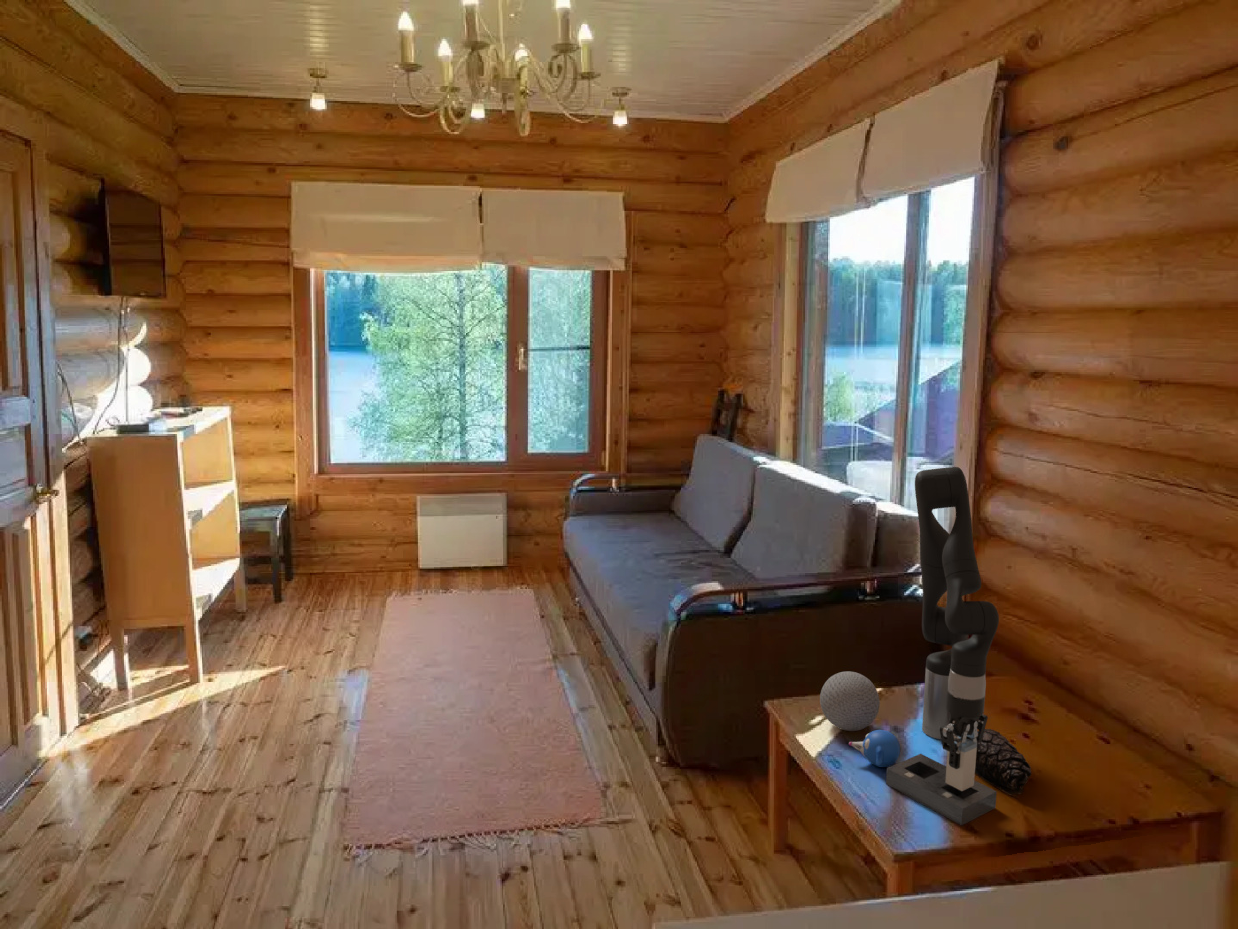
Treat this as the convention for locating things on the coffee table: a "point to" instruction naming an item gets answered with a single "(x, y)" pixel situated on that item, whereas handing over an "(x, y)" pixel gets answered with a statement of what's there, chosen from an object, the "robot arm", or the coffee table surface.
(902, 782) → the panel
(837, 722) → the decorative ball
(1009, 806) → the coffee table surface
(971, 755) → the plug
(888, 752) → the blue mole toy
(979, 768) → the pine cone
